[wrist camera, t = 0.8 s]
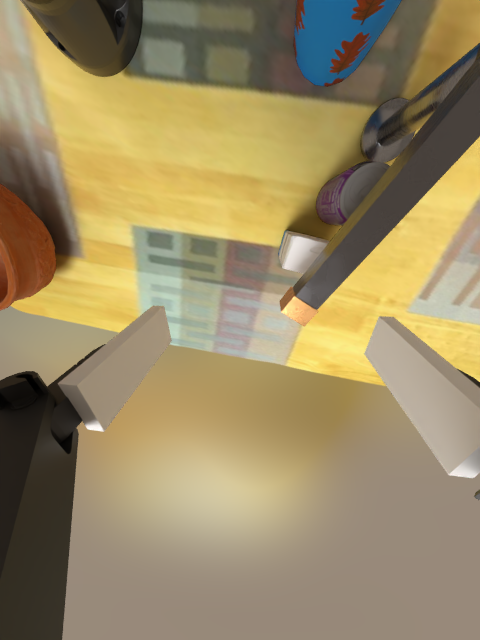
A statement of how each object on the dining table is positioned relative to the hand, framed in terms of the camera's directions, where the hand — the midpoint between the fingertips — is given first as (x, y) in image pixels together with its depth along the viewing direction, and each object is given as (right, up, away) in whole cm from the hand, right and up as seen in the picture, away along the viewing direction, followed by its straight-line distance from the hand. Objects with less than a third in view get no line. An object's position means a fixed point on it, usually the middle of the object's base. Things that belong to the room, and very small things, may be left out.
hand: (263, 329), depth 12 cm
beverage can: (+15, +21, +21) cm, 34 cm away
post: (+20, +29, +16) cm, 39 cm away
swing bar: (+12, +12, +7) cm, 19 cm away
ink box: (+11, +15, +26) cm, 31 cm away
